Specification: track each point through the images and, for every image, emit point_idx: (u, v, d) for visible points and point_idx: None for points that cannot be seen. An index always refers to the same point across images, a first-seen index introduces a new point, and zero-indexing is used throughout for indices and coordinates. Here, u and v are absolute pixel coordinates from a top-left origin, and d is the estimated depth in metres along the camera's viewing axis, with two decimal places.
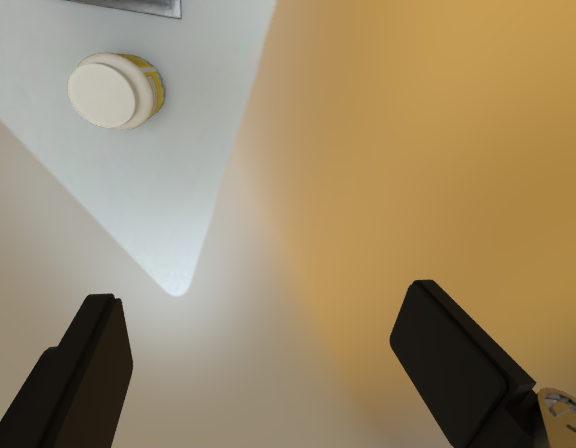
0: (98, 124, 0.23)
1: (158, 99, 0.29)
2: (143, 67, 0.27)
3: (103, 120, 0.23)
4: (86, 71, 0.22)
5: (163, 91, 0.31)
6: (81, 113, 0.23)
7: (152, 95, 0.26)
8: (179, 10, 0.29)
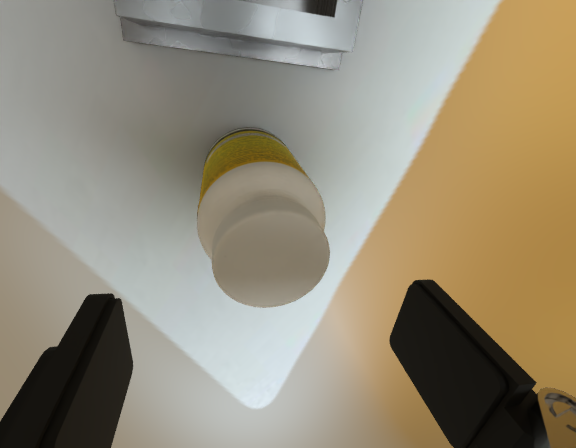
0: (255, 305, 0.12)
1: None
2: None
3: (265, 297, 0.12)
4: (256, 226, 0.10)
5: None
6: (229, 292, 0.12)
7: None
8: (339, 58, 0.18)
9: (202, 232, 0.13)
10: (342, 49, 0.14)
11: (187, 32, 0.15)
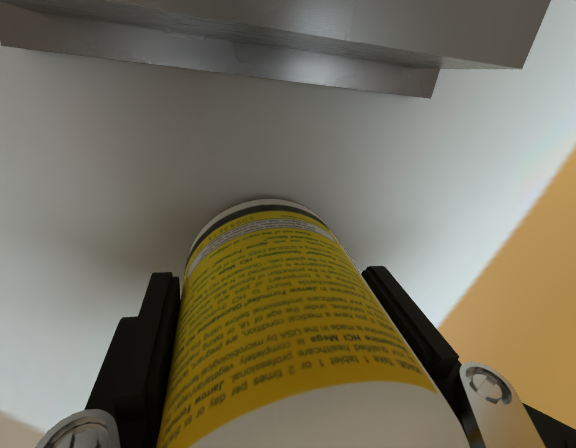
0: None
1: None
2: (386, 315, 0.07)
3: None
4: None
5: None
6: None
7: None
8: (433, 77, 0.10)
9: None
10: (500, 64, 0.06)
11: (142, 29, 0.07)
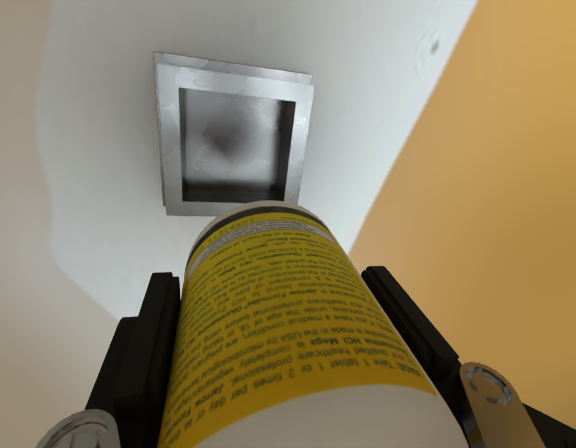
0: None
1: None
2: (386, 318, 0.07)
3: None
4: None
5: None
6: None
7: None
8: None
9: None
10: None
11: None
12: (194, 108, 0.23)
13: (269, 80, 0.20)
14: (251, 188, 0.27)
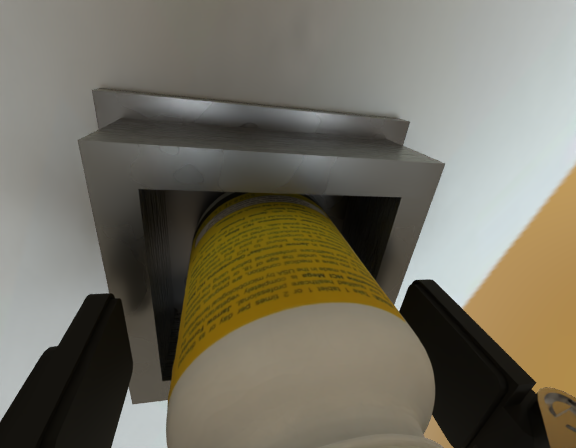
0: None
1: None
2: (368, 272, 0.08)
3: None
4: None
5: None
6: None
7: None
8: None
9: None
10: None
11: None
12: (185, 192, 0.12)
13: (351, 160, 0.09)
14: None
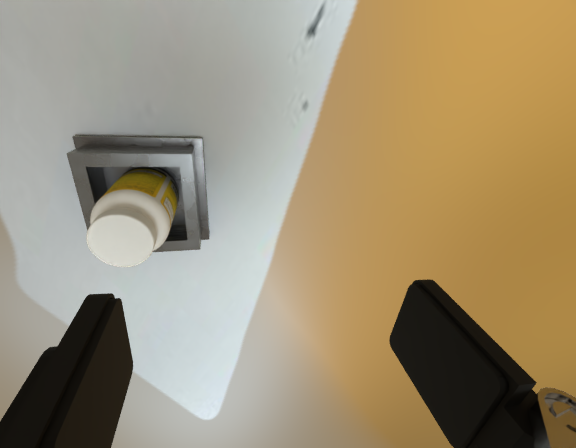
0: (117, 265, 0.23)
1: (174, 214, 0.28)
2: (159, 190, 0.26)
3: (122, 261, 0.23)
4: (105, 222, 0.21)
5: (177, 198, 0.31)
6: (100, 258, 0.22)
7: (169, 221, 0.26)
8: (208, 234, 0.36)
9: None
10: (195, 249, 0.32)
11: None
12: (112, 172, 0.30)
13: (154, 154, 0.27)
14: None
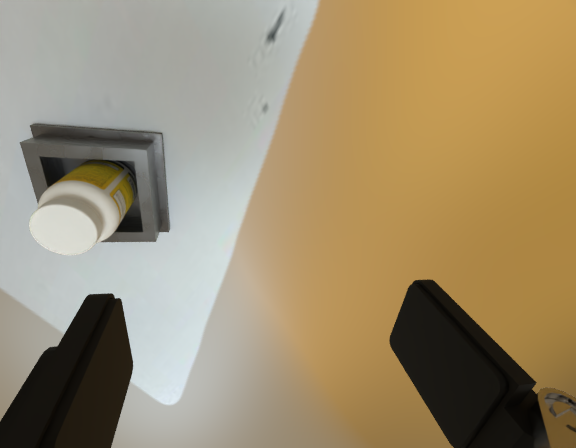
0: (61, 253, 0.24)
1: (127, 206, 0.29)
2: (111, 182, 0.27)
3: (65, 249, 0.24)
4: (47, 211, 0.22)
5: (134, 190, 0.32)
6: (43, 245, 0.23)
7: (118, 213, 0.27)
8: (167, 227, 0.37)
9: None
10: (150, 241, 0.33)
11: None
12: (70, 162, 0.31)
13: (109, 148, 0.28)
14: (129, 217, 0.35)
